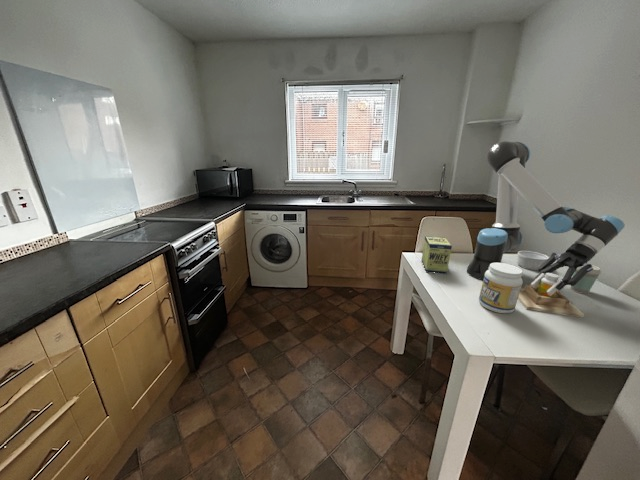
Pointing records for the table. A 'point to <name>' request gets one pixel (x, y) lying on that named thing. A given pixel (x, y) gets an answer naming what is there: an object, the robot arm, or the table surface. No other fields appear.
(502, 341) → the table surface
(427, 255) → the protein box
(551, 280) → the supplement bottle
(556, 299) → the birch rack
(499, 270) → the supplement tub
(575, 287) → the coffee cup
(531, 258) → the ramekin
